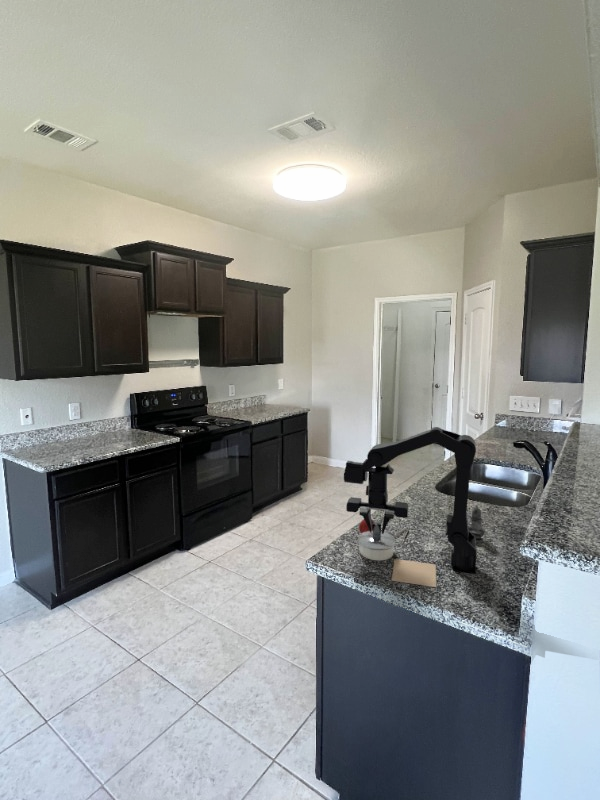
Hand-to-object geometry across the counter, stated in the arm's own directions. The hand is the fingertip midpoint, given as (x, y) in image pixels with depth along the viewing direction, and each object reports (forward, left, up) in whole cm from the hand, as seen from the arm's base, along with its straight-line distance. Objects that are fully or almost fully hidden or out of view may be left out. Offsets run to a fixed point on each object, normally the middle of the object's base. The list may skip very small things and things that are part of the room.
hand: (376, 532), depth 135 cm
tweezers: (-8, -17, -8) cm, 21 cm away
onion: (+4, -9, -7) cm, 12 cm away
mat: (-12, +9, -7) cm, 16 cm away
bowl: (0, 0, -7) cm, 7 cm away
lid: (0, 0, -3) cm, 3 cm away
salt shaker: (-31, -18, -7) cm, 36 cm away
